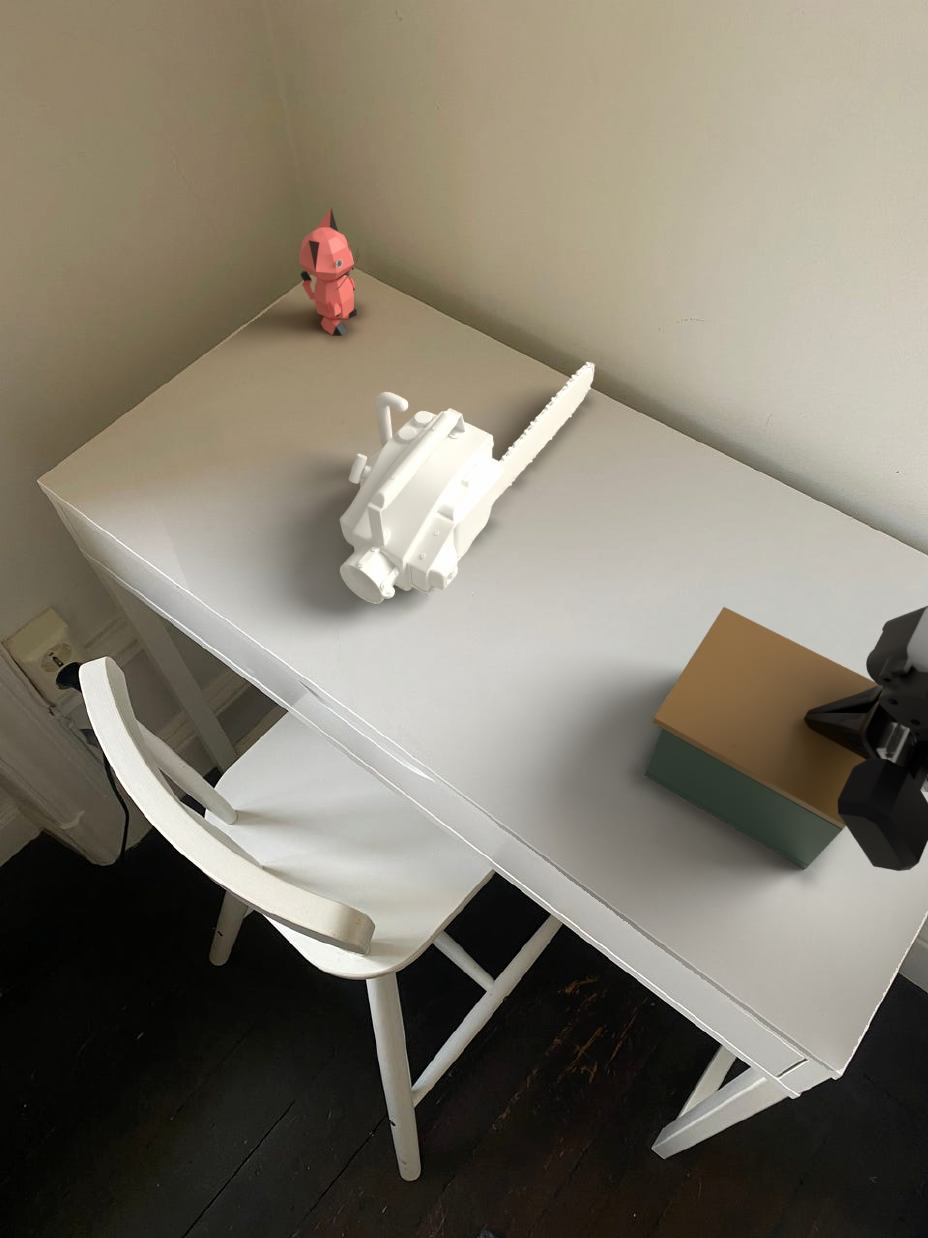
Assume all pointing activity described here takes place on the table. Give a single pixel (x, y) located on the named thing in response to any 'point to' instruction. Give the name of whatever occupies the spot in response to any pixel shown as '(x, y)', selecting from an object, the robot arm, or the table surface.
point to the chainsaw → (434, 492)
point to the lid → (764, 711)
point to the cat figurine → (329, 274)
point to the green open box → (739, 800)
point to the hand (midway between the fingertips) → (807, 719)
